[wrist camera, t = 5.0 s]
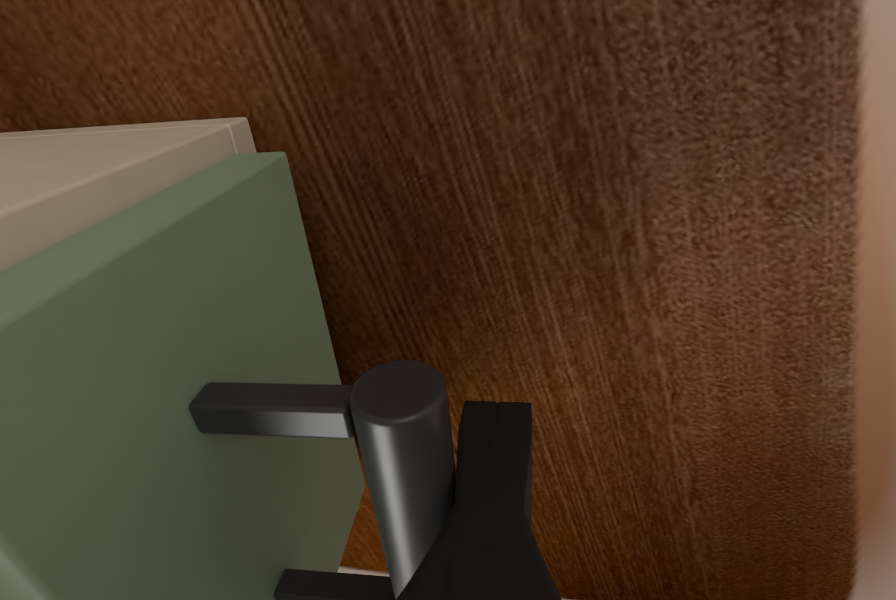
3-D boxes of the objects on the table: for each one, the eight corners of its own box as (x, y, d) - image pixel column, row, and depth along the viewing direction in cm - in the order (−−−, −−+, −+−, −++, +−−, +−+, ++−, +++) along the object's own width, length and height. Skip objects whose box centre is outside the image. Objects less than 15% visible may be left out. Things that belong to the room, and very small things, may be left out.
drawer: (468, 140, 10) (358, 414, 3) (487, 491, 15) (462, 873, 8) (-182, 175, 12) (-1027, 371, 6) (29, 466, 18) (-275, 749, 11)
